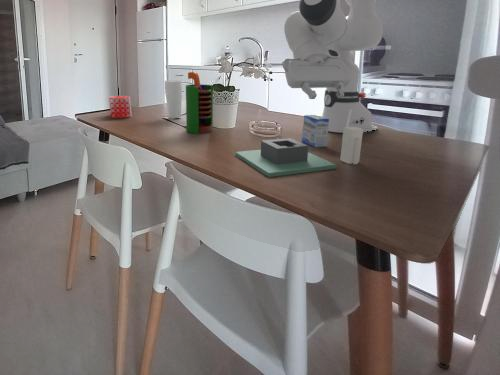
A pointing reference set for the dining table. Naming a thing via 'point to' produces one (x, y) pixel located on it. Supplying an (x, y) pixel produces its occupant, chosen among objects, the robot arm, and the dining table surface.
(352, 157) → the keyed plug
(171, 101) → the drinking glass
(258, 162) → the socket board
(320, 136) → the medicine box
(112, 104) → the puzzle cube
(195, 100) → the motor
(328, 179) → the dining table surface
